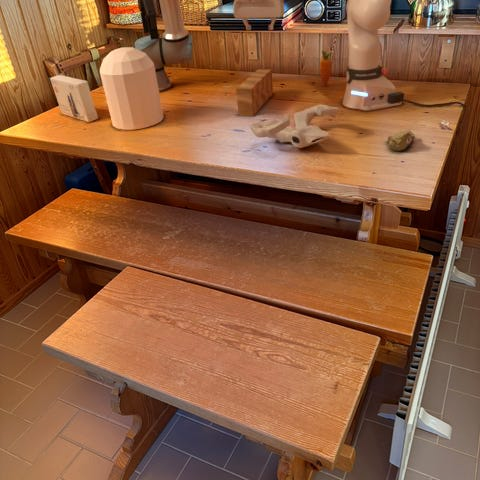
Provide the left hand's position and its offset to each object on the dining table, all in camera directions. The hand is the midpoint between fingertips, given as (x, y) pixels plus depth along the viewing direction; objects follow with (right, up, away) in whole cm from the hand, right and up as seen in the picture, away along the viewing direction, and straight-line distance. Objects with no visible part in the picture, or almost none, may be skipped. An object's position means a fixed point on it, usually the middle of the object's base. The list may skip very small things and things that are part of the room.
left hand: (151, 35), depth 158 cm
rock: (+82, -40, -10) cm, 92 cm away
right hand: (+38, +14, +27) cm, 49 cm away
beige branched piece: (+51, -38, -3) cm, 64 cm away
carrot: (+68, -1, +48) cm, 83 cm away
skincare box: (-39, -17, +41) cm, 59 cm away
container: (-11, -21, +31) cm, 39 cm away
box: (+37, -13, +35) cm, 53 cm away
